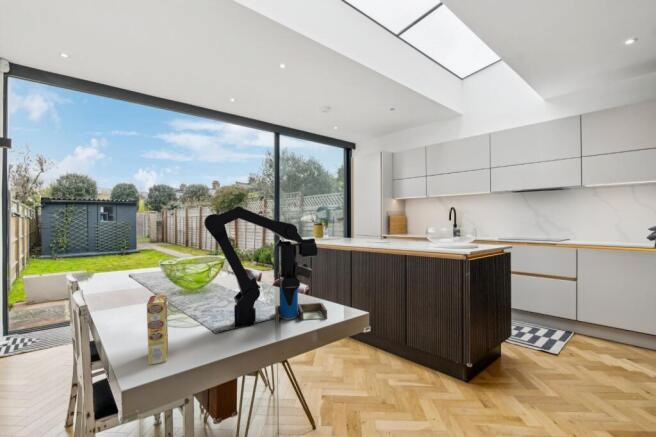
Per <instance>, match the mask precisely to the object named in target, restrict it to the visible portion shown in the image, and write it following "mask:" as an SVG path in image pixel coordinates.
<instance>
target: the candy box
mask: <svg viewBox="0 0 656 437" xmlns="http://www.w3.org/2000/svg"><path fill="white" fill-rule="evenodd" d="M167 296H168V295H167V294H157V295H151V296H149V299H148V301H147V303H146V322H147V324H146V328H147V349H148V351H147V352H148V354H147V355H148V356H147V357H148V359H147V360H148V366H150V365H156V364H162V363H166V362H167V359H168V352H169V334H168V333H169V332H168V330H169V328H168V306H167V305H168V302H167V301H168V300H167V299H168V298H167Z"/></svg>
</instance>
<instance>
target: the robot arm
mask: <svg viewBox="0 0 656 437" xmlns="http://www.w3.org/2000/svg"><path fill="white" fill-rule="evenodd" d="M238 219H240V220H242V221H245V222H247V223H250V224H253V225H255V226H257V227H260V228H263V229H266V230H268V231H270V232H271V233H273V234H274V235H275V236H278V237H279V239H277V241H276V242H275V243H274V244H273V246H275V247H279V264H280V265H279V266H280V268H279V271H278V273H277V274H278V281H279V284H280V286H281V289H282V291H283V293H284V296H285V298H286V301H287V303H288V306H291V305H292V301H293V296H294V292H295V290H296V289H297V288H298V289H299V287H300V286H301V281H300V278H298V277H299V276H301V277H304V278H306V279H311V276H312V273H313V269H312V268H311V267H308V264H307V263H302V264H299V263H298V261H297V256H299V257H300V258H313V257H315V258H316V257H317V255H318V252H319V251H318V246H317V243H316V239H315V238H302V236H301V235H300V233H299V231H298V227H297V226H296V225H295V224H293V223H290V222H285V221H280V220H274V219H272V218H269V217H266V216H264V215H261V214H258V213H256V212H254V211H251V210H248V209H245V208H244V207H243V206H239V205H237V206H234V207H233V208H232V209H229V210H227V211H224V212H221V213H219V214H217V213H210V214H208V215H207V216H206V217H205V218H204V220H203V225H204V228H205V229H206V230H207V231H208V232H209V234H210V235H211V236H212V238H213V239H214V240H215V241H216V242H217V244H218V246H219V248H220V250H221V252H222V254H223V255H224V257H225V259H226V262H227V263H228V265H229V267H230V268H231V270H232V273H233V275H234V277H235V279H236V282H237V285H238V289H239V291H238V293H236V294H235V296H234V297H233V300H234V302H235V304H234V307H233V308H234V309H233V310H234V311H233V313H234V314H233V316H234V324H233V327H235V328H237V327H246V326H247V327H249V326H250V327H251V326H252V327H253V326H255V323H256V320H257V317H256V313H257V312H256V307H255V303H256V301H257V300H258V299H259V298H260V294H261V291H260V289H261V286H260V285H259V284H258V282H257V279H256V276H254V274H251V275H249V274H248V273H247V271H246V269H245V267H244V265H243V263H242V261H241V259H240V258H239V255H238V253H237V252H236V250H235V248H234V246H233V245H232V242H231V240H230V238H229V236H228V233H227V229H226V226H225V225H227V224H230V223H231V222H233V221H236V220H238ZM280 238H281V239H284V240H281V239H280ZM285 240H286V241H285ZM292 242H293V243H292ZM294 242H295V243H294Z"/></svg>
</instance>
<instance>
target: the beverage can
mask: <svg viewBox="0 0 656 437" xmlns="http://www.w3.org/2000/svg"><path fill="white" fill-rule="evenodd" d="M298 291H299V288H297V289H296V290H295V292H294V296H293V301H292V305H291V306H288V303H287V301H286V298H285V296H284V293H283V291H282V289H281V285H280V286H279V305H280V314H279V318H281V319H282V320H287V321H289V320H294V319H296V318H297V317H298V316H299V314H298V304H299V292H298Z"/></svg>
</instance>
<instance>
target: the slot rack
mask: <svg viewBox="0 0 656 437" xmlns="http://www.w3.org/2000/svg"><path fill="white" fill-rule="evenodd" d="M274 309H275V310H274V311H275V313H274V315H275V320H276V321H275V322H276V323H280V304H279V305H277V304H276V305H274ZM298 316H299V319H300V321H310V320H311V321H312V320H324V319H325V320H327V319H328V309H327V308H326V306H325V305H324V303H323V302H312V303H311V302H309V303H307V302H306V303H298Z"/></svg>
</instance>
